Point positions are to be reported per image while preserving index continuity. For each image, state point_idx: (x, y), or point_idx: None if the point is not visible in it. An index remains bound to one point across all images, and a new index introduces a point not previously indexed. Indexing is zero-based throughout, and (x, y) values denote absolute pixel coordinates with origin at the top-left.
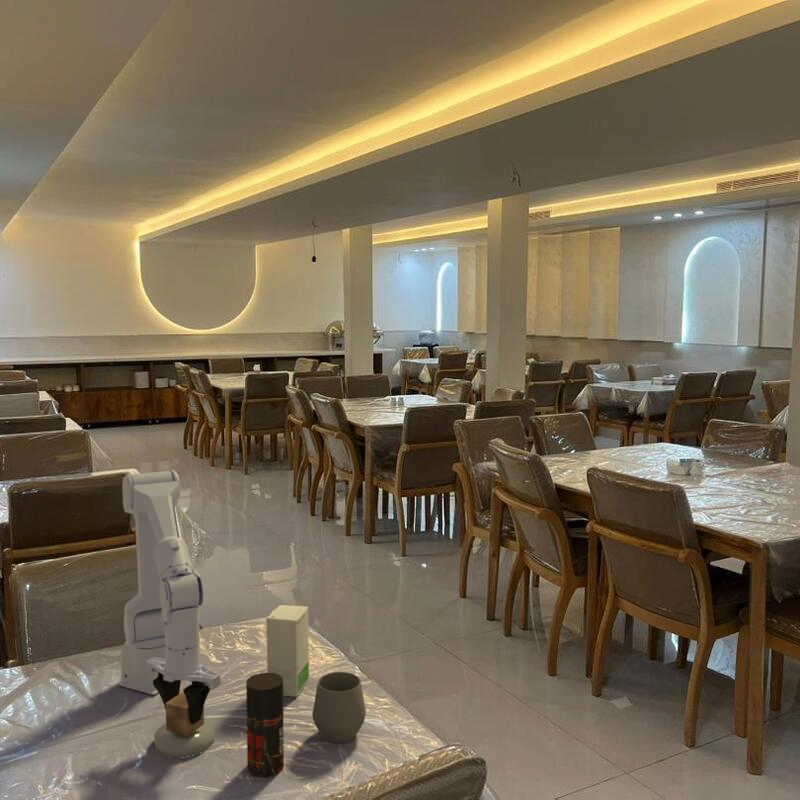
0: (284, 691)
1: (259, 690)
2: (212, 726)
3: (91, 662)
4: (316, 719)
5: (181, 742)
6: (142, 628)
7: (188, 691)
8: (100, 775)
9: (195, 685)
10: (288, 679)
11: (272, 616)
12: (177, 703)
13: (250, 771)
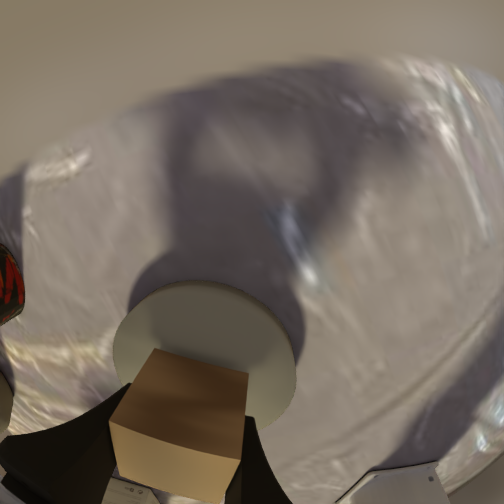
0: (117, 485)
1: None
2: None
3: (472, 467)
4: None
5: (172, 330)
6: None
7: (16, 465)
8: (376, 143)
9: (40, 498)
10: (104, 499)
11: None
12: (180, 457)
13: (3, 251)
